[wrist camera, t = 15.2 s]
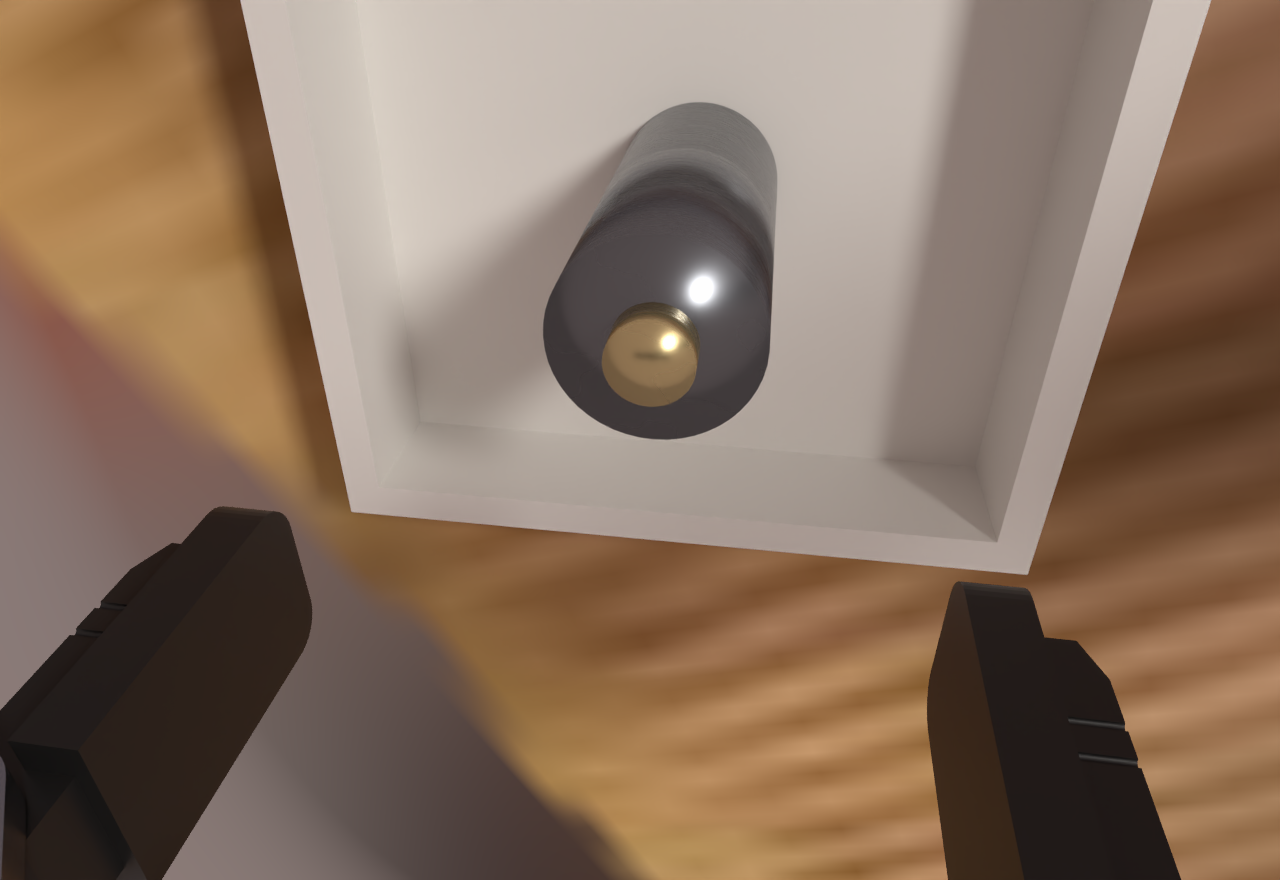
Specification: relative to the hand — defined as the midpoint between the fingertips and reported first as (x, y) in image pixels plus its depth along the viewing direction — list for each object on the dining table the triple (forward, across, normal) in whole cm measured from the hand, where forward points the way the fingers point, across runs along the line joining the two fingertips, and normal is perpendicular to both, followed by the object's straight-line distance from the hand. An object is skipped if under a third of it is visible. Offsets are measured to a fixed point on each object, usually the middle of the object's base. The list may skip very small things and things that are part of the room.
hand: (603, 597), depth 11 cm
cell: (+15, 0, 0) cm, 15 cm away
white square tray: (+16, 0, 0) cm, 16 cm away
